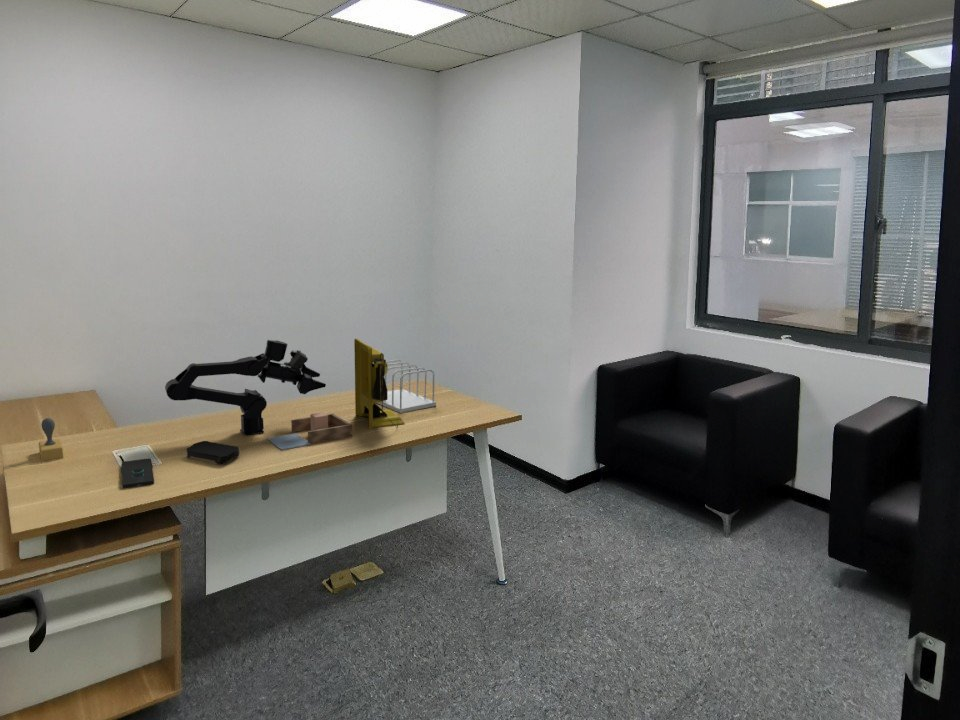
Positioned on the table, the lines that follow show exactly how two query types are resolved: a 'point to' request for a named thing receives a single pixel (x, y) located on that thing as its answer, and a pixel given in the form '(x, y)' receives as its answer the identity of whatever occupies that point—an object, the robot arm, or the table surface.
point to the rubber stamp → (50, 443)
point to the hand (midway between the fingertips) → (322, 380)
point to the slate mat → (289, 441)
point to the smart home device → (137, 473)
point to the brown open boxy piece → (335, 432)
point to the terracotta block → (319, 421)
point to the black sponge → (212, 452)
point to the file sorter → (407, 392)
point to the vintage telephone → (372, 386)
